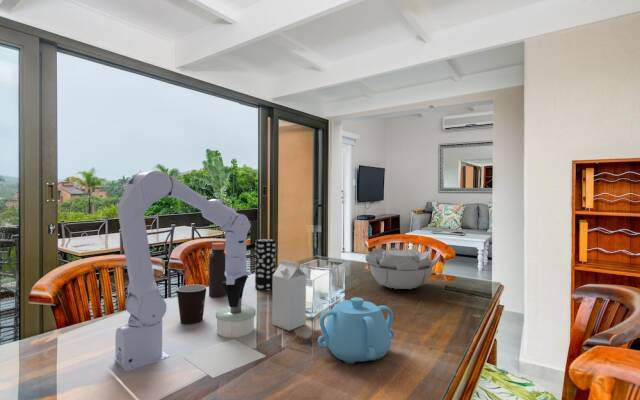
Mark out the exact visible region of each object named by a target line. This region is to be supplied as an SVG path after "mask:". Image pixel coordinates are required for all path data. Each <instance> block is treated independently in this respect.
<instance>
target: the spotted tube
mask: <svg viewBox="0 0 640 400" xmlns="http://www.w3.org/2000/svg"><path fill="white" fill-rule="evenodd" d="M276 241H277V240H276V239H274V238H273V239H271V238H260V239H259V238H258V239H255V251H254V253H255V255H254V256H255V257H254V259H255V261H254V263H255V266H254V267H255V269H254V272H255V273H254V282H255V283H254V289H255V290H257V291H259V290H260V291H261V292H265V291H266V290H269V291H272V287H273V274H274V272H275V271H276V266H277V263H276V260H277V259H276V258H277V257H276V255H277V254H276V253H277V251H276V246H277V244H276V243H277V242H276ZM266 292H267V291H266Z"/></svg>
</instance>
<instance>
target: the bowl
mask: <svg viewBox="0 0 640 400" xmlns="http://www.w3.org/2000/svg"><path fill="white" fill-rule="evenodd" d="M254 329H255V316H254V317H252V318H250V319H248V320H244V321H236V322H227V321H221V320H218V319H217V318H216V334H218V335H219V336H221V337H224V338H239V337H244V336H247V335H249V334H251V333H252V332H254Z"/></svg>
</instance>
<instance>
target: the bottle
mask: <svg viewBox="0 0 640 400" xmlns="http://www.w3.org/2000/svg"><path fill="white" fill-rule="evenodd" d="M225 243H226V242H212V243H211V251H212V253H211V254H210V255H209V257H208V296H209V297H211V298H222V297H225V296H227V294H226V291H225V289H224V287H223V285H222V282H223V281H226V276H225Z"/></svg>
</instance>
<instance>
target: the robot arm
mask: <svg viewBox="0 0 640 400" xmlns="http://www.w3.org/2000/svg"><path fill="white" fill-rule="evenodd" d="M164 197H174V198H176V199H178V200H180V201H182V202H183V203H186V204H188V205H190V206H192V207H194V208H195V209H197V210H199V211H200V213H201V216H202V218H204V219H205V220H207V221H209V222H210V223H213V224H215V225H216V226H218V227H220V228H221V229H222V230H223V231H224V232H225V239H224V240H225V242H224V243H225V250H224V253H225V276H226V281H223V282H222V285H223V287H224V289H225V291H226V294H227V295H226V297H227V301H228V307H237V306H238V303H239V298H241V299H243V294H244V289H245V285H246V283H247V280H248V279H249V275H250V274H251V270H247V239H248V233H249V231H250V229H251V227H252V224H251V223H250V220H249V219H248V217H247V215H245V214H243V213H238V212H237V210H236V208H233V207H229V206H228V205H226V204H224V203H223V202H224V201H223V200H222V199H220V198H219V199H216V198H212V199H206V197H204V196H202V194H200V193H198V192H196V191H195V190H194V189H192V188H191V187H189V186H188V185H186V184H185V183H183V182H182V181H180V180H179V179H177V178H176V177H174V176H172V175H168V174H167V173H166V172H164V171H162V170H152V171H142V172H138V173H136V174H135V175H133V176H132V177H131V178H130V179H129V180H128V181H127V182H126V186H125V189H124V191H123V194H122V195H121V197H120V200H119V202H118V204H117V216H118V217H117V218H118V221H119V222H118V223H119V228H120V233H121V241H122V245H123V250H124V251H123V253H124V257H125V263H126V269H127V275H128V280H129V283H128V285H127V288H126V290H127V291H126V292H127V296H126V299H125V303H124V304H125V309H126V311H127V312H128V313H129V314H130V316H129V318H128V321H127V323H126V324H124V325H122V326H120V327H118V328H116V332H115V357H114V361H115V362H116V363H117V364H118V365H119V366H120V367H121V368H122V369H123V370H124V371H125V372H129V371H132V370H135V369H138V368H141V367H143V366H144V367H145V366H147V365H151V364H152V363H153V364H154V363H156V362H160V361H161V360H165V359H167V358H170V355H169V354H167V353H166V352H165V351H163V317H164V316H165V314H166V312H167V303H166V300H165V299H164V298H163V297H162V296H161V292H160V291H161V290H160V288H159V286H158V284H157V282H156V280H155V274H154V270H153V263H152V259H151V257H152V256H151V252H150V245H149V239H148V231H147V225H146V220H145V213H146V212H147V211H148V210H149V208H150V207H151V206H152V205H153V204H155V203H156V202H158V201H160V200H161V199H163V198H164Z"/></svg>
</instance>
